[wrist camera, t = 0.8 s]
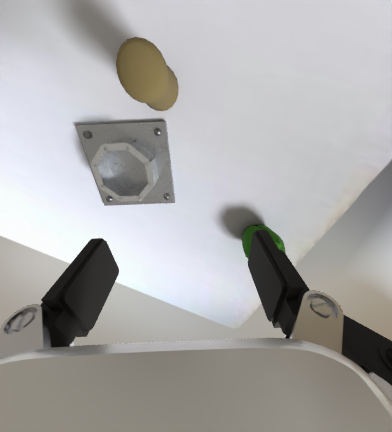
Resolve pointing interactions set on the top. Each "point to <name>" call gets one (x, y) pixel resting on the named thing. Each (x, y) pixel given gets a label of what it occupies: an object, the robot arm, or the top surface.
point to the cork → (146, 74)
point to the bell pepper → (248, 237)
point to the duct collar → (129, 162)
